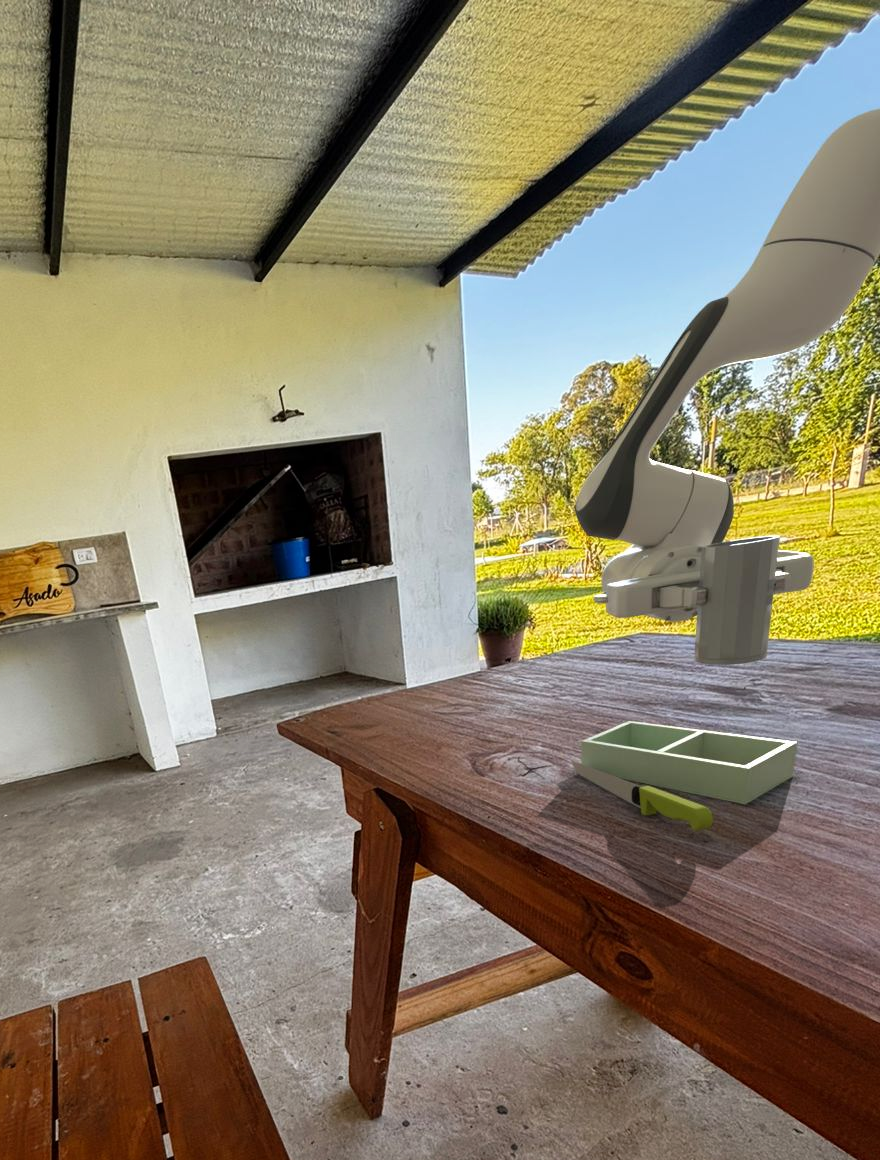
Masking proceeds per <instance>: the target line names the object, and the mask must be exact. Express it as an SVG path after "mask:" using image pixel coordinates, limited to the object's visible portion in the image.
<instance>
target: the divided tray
mask: <svg viewBox="0 0 880 1160" xmlns="http://www.w3.org/2000/svg"><path fill="white" fill-rule="evenodd" d="M580 745H581V752H580V753H581V754H580V755H581V756H580V757H581V758H580V759H581V763H580V764H583V765H585V766H588V767H591V768H593V769H596V770H599V771H601V772H604V773H607V774H609V775H612V776H615V777H617V778H620V779H623V780H625V781H630V782H631V781H632V782H637V783H641V784H644V785H649V786H656V787H660V788H665V789H669V790H674V791H679V792H684V793H689V794H693V795H698V796H703V797H708V798H712V799H718V800H723V801H728V802H732V803H737V804H742V805H747V804H749V803H750V802H752V801H754V800H755V799H757V798H759V797H761V796H762V795H764V794H766V793H767V792H769V791H770V790H772V789H774V788H776V787H777V786H779V785H781V784H783V783H784V782H786V781H787V780H789V779H791V778H793V777H794V774H795V766H796V757H797V750H798V741H794V740H793V741H791V740H785V739H776V738H767V737H761V736H752V735H743V734H738V733H737V734H736V733H729V732H722V731H721V732H719V731H714V730H713V731H712V730H705V729H696V728H688V727H681V726H674V725H673V726H671V725H666V724H665V725H664V724H655V723H648V722H641V721H633V720H628V721H625V722H622V723H621V724H619V725H616V726H614V727H611V728H609V729H607V730H605V731H602V732H600V733H598V734H595V735H593V736H590V737H588V738H585V739H583V740H581V743H580Z"/></svg>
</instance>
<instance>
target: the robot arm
mask: <svg viewBox="0 0 880 1160" xmlns="http://www.w3.org/2000/svg"><path fill="white" fill-rule="evenodd" d="M879 256H880V108H877V109H872V110H869V111H866V112H863V113H861V114H857V115H856V116H854V117H852V118H851V119H849V120H847V121H846V122H844V123H842V124H841V125H840V126H839V127H838V128H837V129H835V130H834V131H833V132H832V133H831V134H830V135H829V136H828V137H827V138H826V140H825V141H824V142H823V143H822V145H820V148H819V149H818V150H817V152H816V154H815V155H814V156H813V158H812V160H811V161H810V162H809V164H808V165H807V167H806V168H805V170H804V171H803V173H802V175H801V176H800V178H799V179H798V181H797V182H796V184H795V186H794V187H793V189H792V191H791V192H790V194H789V195H788V197H787V199H786V201H785V203H784V204H783V206H782V208H781V209H780V211H779V213H778V215H777V217H776V218H775V221H774V222H773V224H772V226H771V228H770V230H769V232H768V233H767V235H766V237H765V239H764V241H763V243H762V245H761V247H760V249H759V251H758V253H757V255H756V256H755V258H754V260H753V262H752V264H751V265H750V267H749V268H748V270H747V271H746V273H744V275H743V277H742V278H741V279H740V280H739V281H738V282H737V284H735V286H734V287H733V288H732V289H731V290H730V291H729V292H728V293H727V294H726V295H724V296H723V297H720V298H717V299H714V300H711V301H709V302H708V303H707V304H706V305H705V306H703V308H701V310H700V311H698V312H697V314H696V315H695V316H694V317H693V318H692V320H691V321H690V322H689V323H688V325H687V327H685V328H684V330H683V332H682V333H681V335H680V336H679V337H678V339H677V341H676V342H675V343H674V345H673V346H672V348H671V350H670V351H669V352H668V354H667V355H666V357H665V358H664V360H663V362H662V363H661V365H660V367H659V368H658V370H657V371H656V373H655V374H654V376H652V377H653V378H652V379H651V381H650V382H649V384H648V385H647V387H646V389H645V390H644V392H643V393H642V395H641V397H640V398H639V400H638V401H637V403H636V405H634V408H633V410H632V411H631V413H630V414H629V416H628V417H627V419H626V421H625V422H624V424H623V425H622V426H621V428H620V430H619V432H618V433H617V434H616V436H615V438H614V439H613V441H612V442H611V444H610V445H609V446H608V448H607V450H606V451H605V452H604V453H603V455H602V457H600V459H599V460H598V462H597V463H596V465H595V466H594V467H593V469H592V471H591V472H590V473H589V474H588V476H587V478H585V480H584V482H583V484H582V485H581V487H580V490H579V492H578V494H577V498H576V500H575V503H574V504H575V505H574V514H575V517H576V519H577V522H578V523H579V526H580V528H581V529H582V531H583V532H584V534H585V535H586V536H588V537H591V538H592V537H593V538H598V539H604V540H610V541H615V540H616V541H620V542H624V543H626V544H627V543H628V544H631V546H630V547H628V548H627V549H626V550H625V551H623V552H621V553H619V554H617V555H616V556H614V557H613V558H612V559H611V560H610V561H609V562H608V563H607V564H606V566H605V567H604V569H603V571H602V574H601V581H600V582H601V590H602V594H596V595H594V596H593V603H594V604H601V605H602V604H603V605H604V604H605V612H606V613H607V614H608V615H610V616H611V617H614V618H617V619H627V618H628V619H630V618H634V617H635V618H636V617H641V616H642V617H643V616H645V617H648V618H651V619H656V620H661V621H666V622H673V623H674V622H676V623H677V622H684V621H687V620H690V619H693V618H695V617H697V609H698V605H703V604H705V603H706V599H707V598H706V597H705V596H706V594H707V589H706V587H699V580H700V565H701V551H702V547H703V546H706V545H710V544H715V543H720V542H724V540H725V538H726V537H727V535H728V532H729V530H730V527H731V525H732V522H733V520H734V514H735V503H734V493H733V490H732V487H731V485H730V482H728V480H727V479H726V478H721V477H718V476H715V475H712V474H708V473H704V472H700V471H696V470H692V469H685V468H681V467H679V466H674V465H670V464H667V463H662V462H660V461H659V462H658V461H655V460H652V459H651V458H650V453H651V451H652V449H653V448H654V446H655V445H656V444H657V442H658V441H659V439H660V437H661V436H662V435H663V433H664V431H665V430H666V429H667V426H668V425H669V424H670V422H671V421H672V419H673V418H674V416H676V413H677V411H678V410H679V409H680V408H681V406H682V404H683V403H684V402H685V400H686V398H687V396H688V395H689V394H690V392H691V390H692V389H693V388H694V387H695V386H696V385H697V383H699V381H700V380H702V379H703V378H704V377H705V376H707V375H708V374H709V373H711V372H713V371H715V370H718V369H719V368H722V367H725V366H730V365H734V364H739V363H745V362H750V361H757V360H762V359H768V358H772V357H777V356H782V355H784V354H788V353H791V352H793V351H795V350H798V349H800V348H802V347H805V346H806V345H808V344H810V343H812V342H813V341H815V340H817V339H819V337H821V336H822V335H824V334H825V333H826V332H828V330H829V329H831V328H832V327H833V326H834V325H835V324H836V323H837V322H838V320H840V318H841V317H842V316H843V314H845V312H846V311H847V309H849V307H850V305H851V304H852V303H853V302H852V301H854V299H855V297H856V296H857V294H858V293H859V291H860V289H861V287H862V286H863V285H864V282H865V281H866V279H867V278H868V275H869V274H870V273H871V271H872V269H873V267H874V265H875V263H876V261H877V260H878V258H879ZM814 567H815V559H814V556H813V555H812V554H810V553H808V552H799V551H793V550H792V551H791V550H781V549H779V550H778V559H777V568H776V577H775V586H774V595H780V594H786V593H792V592H801V591H805V590H807V589H808V588H809V587H810V586H811V583H812V580H813V576H814V575H813V574H814Z"/></svg>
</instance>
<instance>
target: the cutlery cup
mask: <svg viewBox="0 0 880 1160" xmlns="http://www.w3.org/2000/svg"><path fill="white" fill-rule="evenodd" d="M780 539H781V536H780V535H766V536H756V537H748V538H741V539H734V540H727V541H726V540H725V541H723V542H720V543H715V544H710V545H706V546H703V547H702V551H701V565H700V580H699V587H706V589H707V594H706V596H705V597H706V598H707V599H706V603H705V604H703V605H698V609H697V616H696V625H695V640H694V653H693V655H694V662H695V663H698V664H702V665H703V664H704V665H712V666H729V665H730V666H731V665H741V664H749V663H750V664H751V663H754V662H755V663H756V662H759V661H761V660H765V659H766V658H767V656H768V650H769V639H770V630H771V622H772V615H773V614H772V611H773V604H774V596H775V594H774V586H775V577H776V568H777V559H778V550H780Z"/></svg>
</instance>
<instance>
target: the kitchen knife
mask: <svg viewBox="0 0 880 1160" xmlns="http://www.w3.org/2000/svg"><path fill="white" fill-rule="evenodd" d="M570 762H571V764H572V766H573V768H574V770H575V771H576V772H577V774H578V775H579V776H581V777H583V778H585V779H586V780H588V781H590V782H591V783H593V784H595V785H597V786H599V787H600V788H602V789H605V790H606V791H607V792H609V793H611V794H613V795H615V796H617V797H619V798H621V799H622V800H624V801H626V802H628V803H630V804H631V805H633V806H635V807H637V808H639V809H640V814H642V815H643V816H652V815H656V814H657V812H658V813H659V814H661V815H662V816H664V817H666V818H668V819H671V820H682V821H686V822H687V823H689V825H690V827H691V830H692V831H695V832H698V831H703V830H707V829H710V828H711V827H712V825H713V822H714V818H713V814H712V812H711V810H710V809H709V808H708V807H706V806H705V805H702V804H699V803H698V802H694V801H691V800H688V799H686V798H683V797H680V796H678V795H675V794H673V793H670V792H667V791H664V790H662V789H659V788H657V787H653V786H652V785H648V784H641V785H640V784H639V785H638V784H636V783H634V782H631V781H629V780H626V779H621V778H617V777H615V776H612V775H609V774H607V773H604V772H601V771H599V770H596V769H593V768H591V767H588V766H585V765H583V764H581V763H580V762H578V761H575V760H571V761H570Z"/></svg>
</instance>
